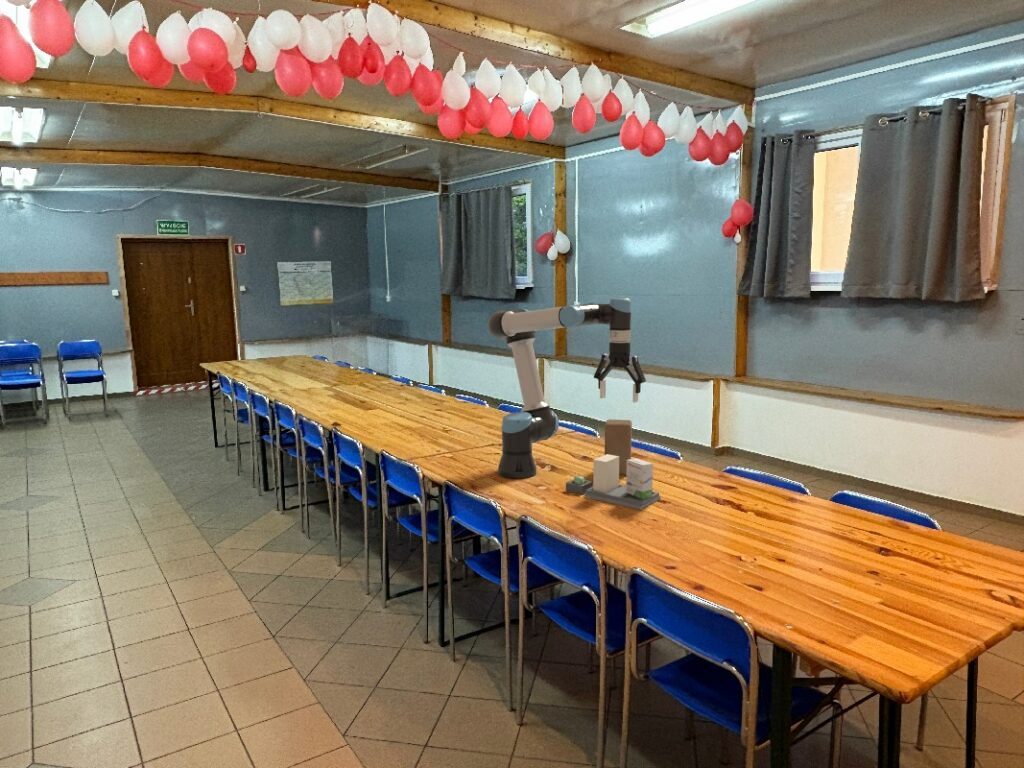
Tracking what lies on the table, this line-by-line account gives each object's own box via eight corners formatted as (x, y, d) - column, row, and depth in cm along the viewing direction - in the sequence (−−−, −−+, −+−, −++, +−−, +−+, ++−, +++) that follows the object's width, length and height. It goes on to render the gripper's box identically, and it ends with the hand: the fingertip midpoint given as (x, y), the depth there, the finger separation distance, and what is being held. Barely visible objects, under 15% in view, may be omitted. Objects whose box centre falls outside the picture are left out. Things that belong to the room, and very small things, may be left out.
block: (630, 475, 260) (631, 425, 257) (604, 474, 262) (604, 424, 259) (630, 468, 270) (631, 419, 267) (605, 467, 272) (606, 418, 269)
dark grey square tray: (565, 490, 243) (565, 482, 242) (576, 485, 248) (576, 478, 248) (582, 494, 238) (582, 486, 238) (592, 489, 244) (592, 481, 243)
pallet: (584, 496, 236) (584, 490, 236) (605, 486, 247) (605, 480, 246) (640, 509, 222) (641, 502, 222) (660, 498, 233) (660, 492, 233)
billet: (593, 492, 236) (593, 459, 234) (606, 486, 243) (607, 454, 241) (605, 495, 233) (606, 462, 231) (618, 489, 240) (619, 456, 238)
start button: (572, 488, 243) (572, 477, 242) (577, 485, 246) (577, 475, 245) (580, 490, 241) (580, 479, 240) (586, 487, 243) (586, 477, 243)
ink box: (653, 496, 228) (653, 463, 226) (641, 499, 225) (642, 465, 223) (636, 490, 235) (636, 457, 233) (625, 492, 232) (625, 459, 231)
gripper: (584, 340, 247) (584, 397, 250) (646, 344, 231) (644, 405, 235) (595, 339, 252) (595, 394, 256) (656, 342, 237) (654, 402, 240)
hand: (618, 399), depth 245 cm, fingers open, 13 cm apart
